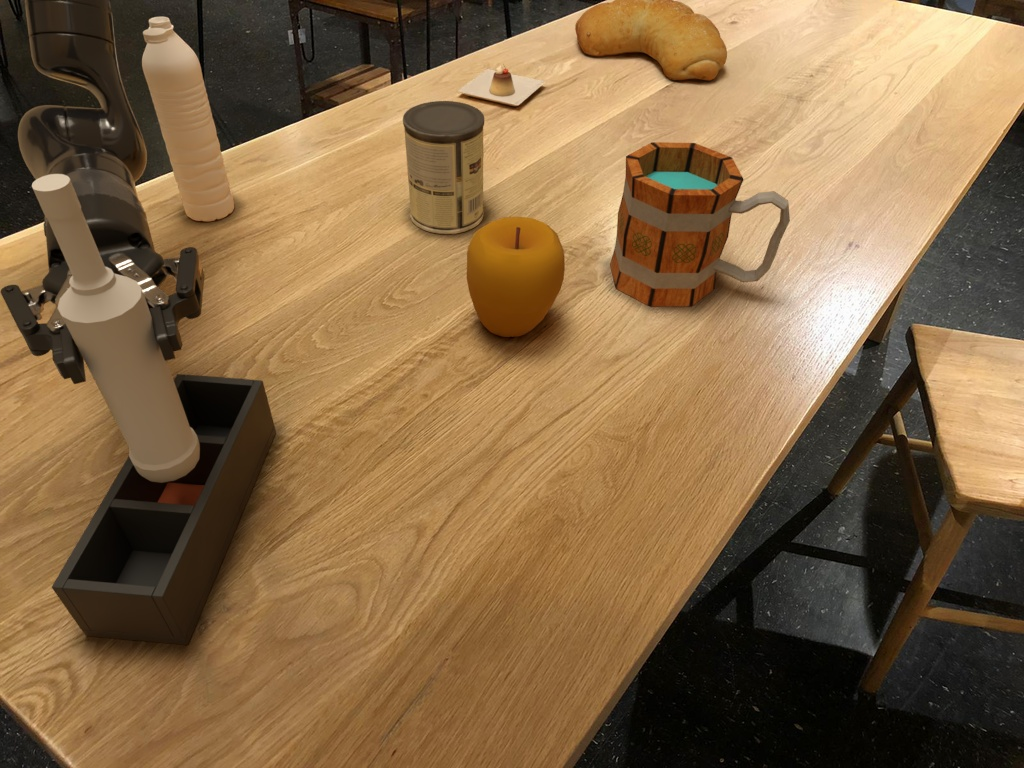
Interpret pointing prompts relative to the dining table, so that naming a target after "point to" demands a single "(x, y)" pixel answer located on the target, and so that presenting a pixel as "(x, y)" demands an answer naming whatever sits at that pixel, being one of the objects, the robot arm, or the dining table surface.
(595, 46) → the bread
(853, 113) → the dining table surface
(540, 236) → the apple
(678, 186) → the mug
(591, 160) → the dining table surface
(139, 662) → the dining table surface
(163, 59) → the water bottle
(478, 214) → the coffee can
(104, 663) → the dining table surface
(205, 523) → the rack
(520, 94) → the dessert
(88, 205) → the robot arm
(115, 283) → the bottle
